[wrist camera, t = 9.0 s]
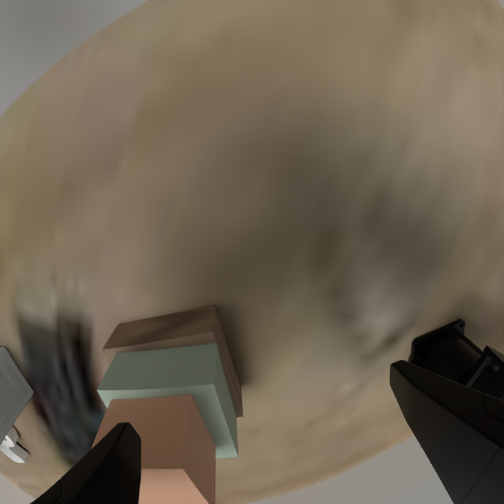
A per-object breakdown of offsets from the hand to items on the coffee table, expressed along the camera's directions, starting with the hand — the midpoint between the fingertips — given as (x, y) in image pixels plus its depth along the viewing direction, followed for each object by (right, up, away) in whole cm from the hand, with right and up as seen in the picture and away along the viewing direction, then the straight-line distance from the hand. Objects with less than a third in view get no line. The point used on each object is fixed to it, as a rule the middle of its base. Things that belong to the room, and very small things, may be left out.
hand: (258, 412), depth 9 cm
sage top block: (-5, -4, +11) cm, 13 cm away
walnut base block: (-6, -3, +14) cm, 16 cm away
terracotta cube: (-5, -5, +7) cm, 10 cm away
